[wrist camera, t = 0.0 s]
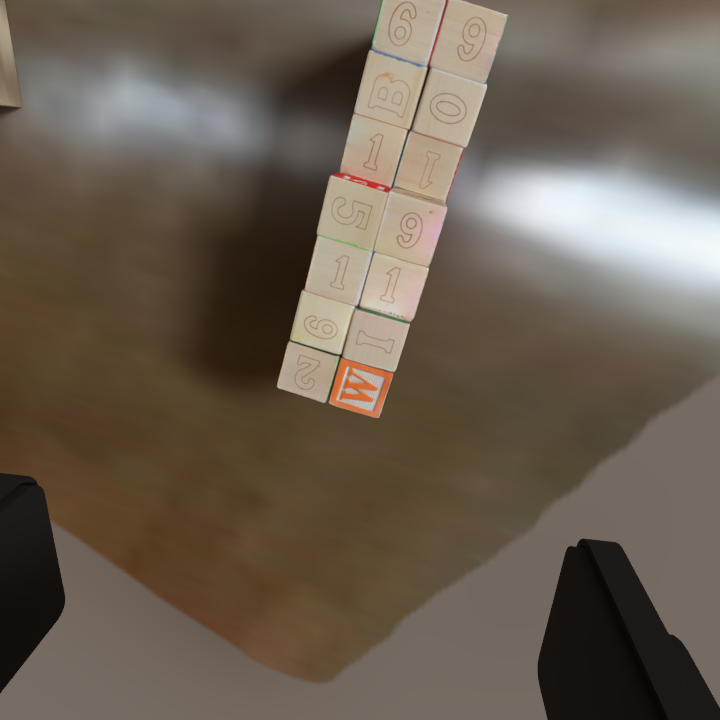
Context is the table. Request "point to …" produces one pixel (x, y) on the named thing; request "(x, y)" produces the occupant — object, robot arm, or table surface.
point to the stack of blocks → (389, 199)
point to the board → (7, 65)
